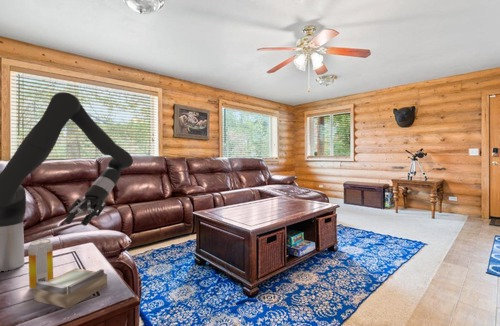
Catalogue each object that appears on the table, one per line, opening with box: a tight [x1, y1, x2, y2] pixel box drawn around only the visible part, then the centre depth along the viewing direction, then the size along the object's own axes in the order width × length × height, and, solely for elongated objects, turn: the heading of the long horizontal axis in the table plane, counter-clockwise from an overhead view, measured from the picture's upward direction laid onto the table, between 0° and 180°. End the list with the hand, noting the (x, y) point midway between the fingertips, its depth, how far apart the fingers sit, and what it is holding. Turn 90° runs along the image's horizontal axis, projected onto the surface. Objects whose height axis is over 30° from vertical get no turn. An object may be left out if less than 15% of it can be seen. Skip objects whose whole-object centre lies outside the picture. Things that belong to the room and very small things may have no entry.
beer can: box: [27, 238, 54, 291], centre depth 81 cm, size 6×6×15 cm
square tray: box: [33, 267, 108, 310], centre depth 77 cm, size 14×13×6 cm
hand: (74, 223), depth 92 cm, fingers open, 8 cm apart
